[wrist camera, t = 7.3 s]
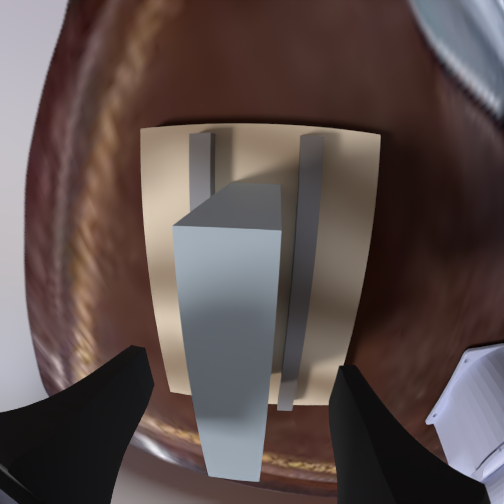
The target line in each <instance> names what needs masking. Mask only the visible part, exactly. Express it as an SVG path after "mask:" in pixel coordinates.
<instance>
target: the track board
mask: <svg viewBox="0 0 504 504" xmlns="http://www.w3.org/2000/svg"><path fill="white" fill-rule="evenodd" d="M380 138H381V135H379V134H372V133H365V132H358V131H351V130H342V129H333V128H323V127H312V126H298V125H281V124H196V125H178V126H165V127H154V128H144V129H141V182H142V202H143V217H144V230H145V241H146V251H147V260H148V269H149V277H150V285H151V292H152V299H153V305H154V312H155V318H156V324H157V329H158V335H159V340H160V345H161V351H162V356H163V360H164V365H165V370H166V374H167V379H168V383H169V387H170V392H176V393H181V394H187V395H192V394H191V389H190V383H189V377H188V370H187V364H186V357H185V350H184V343H183V336H182V328H181V320H180V311H179V302H178V292H177V282H176V271H175V259H174V245H173V229H172V226H173V225H174V224H175V223H177V222H178V221H179V220H181V219H182V218H183V217H184V216H186V215H187V214H188V213H190V212H191V211H192V210H194V209H195V208H196V207H198V206H199V205H200V204H202V203H203V202H204V201H206V200H207V199H209V198H210V197H211V196H213V195H214V194H215V193H217V192H218V191H220V190H221V189H222V188H224V187H225V186H227V185H228V184H229V183H261V184H281V227H282V232H281V249H280V265H279V280H278V294H277V307H276V320H275V333H274V345H273V356H272V367H271V378H270V389H269V399H268V404H278V405H277V410H284V411H292V407H293V405H329V399H330V395H331V392H332V389H333V386H334V382H335V379H336V375H337V372H338V368H339V365H344V361H345V358H346V354H347V350H348V347H349V343H350V339H351V335H352V331H353V327H354V323H355V319H356V314H357V310H358V305H359V301H360V296H361V291H362V286H363V281H364V276H365V270H366V265H367V259H368V253H369V247H370V240H371V233H372V226H373V219H374V211H375V202H376V193H377V182H378V171H379V157H380Z"/></svg>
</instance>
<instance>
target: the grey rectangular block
mask: <svg viewBox="0 0 504 504" xmlns="http://www.w3.org/2000/svg"><path fill="white" fill-rule="evenodd" d="M172 229H173V245H174V259H175V271H176V282H177V292H178V302H179V311H180V320H181V328H182V336H183V343H184V350H185V357H186V364H187V370H188V377H189V383H190V389H191V394H192V400H193V405H194V411H195V416H196V421H197V426H198V431H199V436H200V440H201V445H202V450H203V454H204V458H205V463H206V467H207V471H208V475H209V476H212V477H219V478H226V479H235V480H244V481H256V482H259V478H260V470H261V462H262V454H263V445H264V436H265V427H266V418H267V408H268V399H269V389H270V378H271V367H272V356H273V345H274V333H275V320H276V307H277V294H278V280H279V265H280V249H281V232H282V227H281V184H261V183H229V184H228V185H227V186H225V187H224V188H222V189H221V190H220V191H218V192H217V193H215V194H214V195H213V196H211V197H210V198H209V199H207V200H206V201H204V202H203V203H202V204H200V205H199V206H198V207H196V208H195V209H194V210H192V211H191V212H190V213H188V214H187V215H186V216H184V217H183V218H182V219H181V220H179V221H178V222H177V223H175V224H174V225H173V226H172Z"/></svg>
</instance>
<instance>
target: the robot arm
mask: <svg viewBox="0 0 504 504" xmlns="http://www.w3.org/2000/svg"><path fill="white" fill-rule="evenodd" d="M153 387H154V381H153V378H152V374H151V370H150V366H149V362H148V358H147V354H146V350H145V348H143V347H138V346H133V345H131V346H130V347H128V348H127V349H125V350H124V351H122V352H121V353H120V354H118V355H117V356H115V357H114V358H113V359H111V360H110V361H108V362H107V363H106V364H104V365H103V366H101V367H100V368H98V369H97V370H96V371H94V372H93V373H91V374H90V375H88V376H86V377H85V378H83V379H82V380H80V381H78V382H77V383H75V384H74V385H72V386H70V387H69V388H67V389H65V390H63V391H61V392H59V393H57V394H55V395H53V396H51V397H49V398H46V399H44V400H41V401H39V402H36V403H33V404H31V405H28V406H25V407H21V408H18V409H14V410H10V411H6V412H0V504H110V503H111V498H112V493H113V489H114V486H115V482H116V478H117V475H118V471H119V468H120V465H121V462H122V459H123V456H124V453H125V451H126V449H127V446H128V444H129V442H130V440H131V438H132V436H133V434H134V432H135V430H136V428H137V426H138V424H139V422H140V420H141V418H142V416H143V414H144V412H145V410H146V408H147V405H148V402H149V400H150V397H151V394H152V390H153ZM433 423H434V426H435V428H436V431H437V433H438V436H439V439H440V441H441V444H442V447H443V449H444V452H445V455H446V458H447V461H448V464H449V465H447V464H446V463H444V462H443V461H441V460H440V459H439V458H437V457H436V456H435V455H433V454H432V453H431V452H429V451H428V450H427V449H426V448H424V447H423V446H422V445H421V444H420V443H419V442H418V441H417V440H415V439H414V438H413V437H412V436H411V435H410V434H409V433H408V432H407V431H406V430H405V429H404V428H403V427H402V425H401V424H400V423H399V422H398V421H397V420H396V419H395V418H394V416H393V415H392V414H391V413H390V412H389V410H388V409H387V408H386V407H385V405H384V404H383V403H382V401H381V400H380V399H379V398H378V396H377V395H376V394H375V392H374V391H373V389H372V388H371V387H370V385H369V384H368V382H367V381H366V380H365V378H364V377H363V375H362V374H361V372H360V371H359V369H358V368H357V367H356V366H355V365H339V368H338V372H337V375H336V379H335V382H334V386H333V389H332V392H331V395H330V399H329V425H330V432H331V438H332V445H333V451H334V458H335V465H336V472H337V499H338V500H337V501H338V502H337V504H504V343H501V344H496V345H490V346H484V347H478V348H471V349H467V350H466V351H465V352H464V354H463V356H462V358H461V360H460V362H459V364H458V366H457V368H456V370H455V371H454V373H453V375H452V377H451V379H450V381H449V383H448V384H447V386H446V388H445V390H444V391H443V393H442V395H441V397H440V398H439V400H438V402H437V403H436V405H435V406H434V408H433V410H432V411H431V413H430V414H429V416H428V417H427V419H426V424H433Z"/></svg>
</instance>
